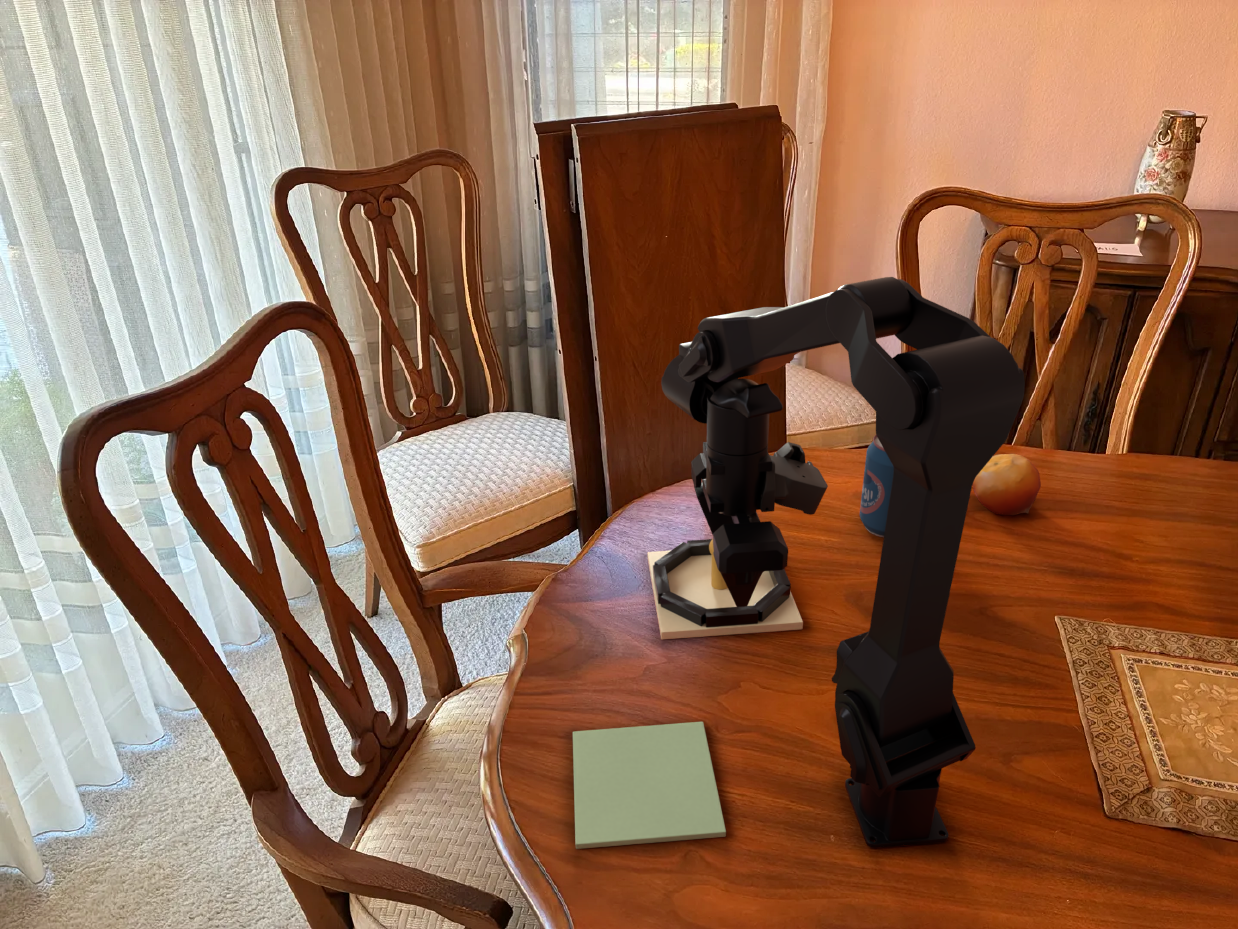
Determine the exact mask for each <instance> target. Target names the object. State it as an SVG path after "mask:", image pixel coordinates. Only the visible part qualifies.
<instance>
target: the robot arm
mask: <svg viewBox="0 0 1238 929" xmlns="http://www.w3.org/2000/svg"><path fill="white" fill-rule="evenodd" d="M697 330H698V332H697V333H696V334H695V335H694V337H693V339H692V341H688V342H684V343H679V345H678V355H676V356H675V357H674V358H673V359H671V361H670V362H669V363H668V365H667V366H666V367H665V369H664V373H663V375H662V377H661V383H660V384H661V390H662V392H663V394H664V396H665V397H666V398H667V400H669V401H670V402H672V403H673V404H674V405H675V406H677V408H679V409H680V410H682V411H683V412H684V413H685V414H687V415H688V416H689V417H690V418H692V419H693V420H694V421H696V422H698V423H701V424H704V425H706V441H703V442H702V452H700V453H698V454H697V455H696V456H695V457H694V458H693V459H692V460H691V462H690V463H691V465H690V466H691V480H692V484H693V489H694V493H695V496H696V499H697V502H698V503H699V506H700V508H701V510H702V511H701V512H702V513H703V515H704V518H705V520H706V522H707V525H708V527H709V530H710V532H711V534H712V539H713V548H714V552H713V554H714V558H715V561H716V565H717V568H718V570H719V572H720V573H721V575H722V577H723V579H724V581H725V583H726V585H727V587H728V589H729V592H730V594H731V596H732V598H733V600H734V602H735V604H736V606H737V607H746V606H748V604H749V601H750V599H751V597H752V594H753V592H754V590H755V587H756V585H757V583H758V581H759V579H760V577H761V575H762V573H763V572H764V571H776V570H783V569H786V568H787V567H788V561H789V560H788V559H789V548H788V545H787V542H786V540H785V538H784V536H783V533H782V531H781V529H780V528H779V526H777V525H775V524H774V523H773V522H772V521H771V520H768V521H767V520H765V521H761V520H760V517H759V514H758V512H757V511H760V512H761V513H767V512H768V513H771V512H775V504H777V505H779V506H780V507H781V506H782V507H785V508H789V509H792V510H793V509H794V510H796V511H797V510H798V511H802V512H803V514H806V515H810V516H811V515H812V516H813V515H815V513H816V512H817V509H818V508H819V506H820V504H821V502H822V499H823V498H824V496H825V493H826V492H827V489H828V487H829V485H828V483H827V481H826V480H825V478H824V476H823V475H822V472H821V471H820V469H819V468H818V467H816V466H815V465H814V464H813V462H812V461H810V460H807V462H806V453H805V451H804V448H802V446H801V445H800V444H797V443H794V442H790V441H788V442H786V443H785V444H784V445H783V446H781V447H780V448H779V449H778V450H777V451H776V452H774V453H773V455H771V454H770V453H769V452H768V450H769V428H770V415H771V414H773V413H774V414H775V413H779V412H781V411H782V410H783V408H784V406H783V403H782V402H781V400H780V398H779V397H778V396H777V395H776V394H775V393H774V392H773V391H772V389H771V387H770V385H769V384H768V383H767V382H764V383H760V384H759V383H758V382H756V381H754V380H752V379H748V378H745V377H749V376H754V375H758V374H763V373H769V372H773V371H776V370H778V369H780V368H782V367H783V366H786V365H787V364H789V363H790V362H792V361H793V360H794V358H795V356H797V355H798V354H800V353H802V352H806V351H810V350H816V349H820V348H824V347H829V346H833V345H837V344H840V345H841V346H842V347H843V348H844V349H845V350H846V352H847V354H848V364H849V372H850V380H851V381H850V382H851V384H852V386H853V387H854V388H855V390H856V391H857V392H858V394H859V395H861V397H862V398H863V399H864V400H865V401H866V402H867V403H868V404H869V406H870V407H871V408H872V409H873V410H874V411H875V435H877V437H878V439H879V441H880V443H881V445H882V446H883V448H884V450H885V452H886V454H887V455H888V457H889V459H890V461H891V463H892V465H893V467H894V473H893V481H892V488H891V494H890V501H889V507H888V514H887V520H886V527H885V533H884V537H883V540H882V547H881V553H880V560H879V565H878V566H879V567H878V573H877V579H876V586H875V592H874V599H873V605H872V612H871V618H870V625H869V628H868V631H865V632H863V633H860V634H857V635H854V636H851V637H848V638H845V639H843V640H840V642H839V644H838V647H837V649H836V666H835V672H834V674H833V675H832V677H831V682H832V683H833V684H836V686H835V691H834V711H835V717H836V725H837V726H836V727H837V731H838V739H839V746H840V753H841V755H842V757H843V758H844V759H845V761H846V762H847V763H848V764H849V768H850V775H849V776H850V777H849V778H847V779H845V780H844V788H845V790H846V793H847V796H848V798H849V801H850V803H851V808H852V809H853V812H854V815H855V817H856V819H857V820H856V821H857V823H858V825H859V828H860V831H861V833H862V836H863V838H864V842H865V844H866V845H867V846H868V847H869V848H872V849H879V848H890V847H902V846H903V847H904V846H915V845H926V844H927V845H928V844H938V843H939V844H940V843H945V842H947V841H948V839H949V834H950V833H949V832H948V830H947V827H946V825H945V824H944V821H943V819H942V817H941V815H940V813H939V810H938V808H937V801H938V795H939V791H940V780H941V776H942V775H941V774H942V771H943V769H944V768H946V767H949V766H951V765H954V764H955V763H958V762H963V761H965V760H967V759H968V758H970V756H971V755H972V754H973V753H974V752H975V750H976V748H977V747H976V744H975V741H974V738H973V737H972V734H971V732H970V729H969V727H968V725H967V722H966V720H965V718H964V715H963V713H962V710H961V708H960V706H959V704H958V701H957V699H956V696H955V693H954V675H955V672H954V671H955V670H954V669H953V667H952V665H951V664H950V662H949V660H948V659H947V657H946V656H945V654H944V653H943V651H942V648H941V647H940V644H941V643H940V641H941V637H942V632H943V628H944V622H945V617H946V613H947V609H948V604H949V598H950V593H951V589H952V585H953V579H954V576H955V571H956V566H957V560H958V556H959V552H960V551H959V550H960V546H961V542H962V536H963V531H964V528H965V527H964V526H965V522H966V516H967V512H968V508H969V503H970V499H971V498H970V497H971V493H972V489H973V486H972V485H973V482H974V479H975V478H976V476H977V475H978V474H979V472H980V471H981V470H982V469H983V468H984V466H985V465H986V464H987V463H988V462H989V460H990V459H991V458H992V457H993V456H995V455H996V453H997V452H998V451H999V450H1000V448H1001V447H1002V446H1003V445H1004V444H1005V442H1006V441H1007V439H1008V437H1009V434H1010V432H1011V429H1012V427H1013V425H1014V423H1015V420H1016V418H1017V415H1018V414H1019V411H1020V408H1021V406H1022V403H1023V400H1024V397H1025V385H1026V381H1025V374H1024V370H1023V369H1022V368H1020V367H1019V365H1018V363H1017V361H1016V360H1015V358H1014V355H1013V354H1012V353H1011V352H1010V351H1009V349H1008V348H1007V347H1006V345H1005V344H1003V343H1002V342H1000V341H999V340H997V339H995V337H991V335H989V334H988V333H987V332H986V331H985V330H984V329H983V328H982V327H981V326H980V325H978V324H977V323H976V322H975V321H974V320H973V319H971V318H969V317H967V316H965V315H963V314H960V313H959V312H956V311H954V310H952V309H951V308H947V307H945V306H943V305H941V304H938V303H936V302H935V301H932V300H931V299H927V298H925V297H924V296H922V295H921V293H920V292H918V291H917V290H916V288H914V287H913V286H912V285H911V284H910V283H909V282H907V281H906V280H904V279H902V278H896V277H894V276H885V277H879V278H874V279H868V280H862V281H857V282H851V283H846V284H843V285H841V286H840V287H839V288H838V289H836V290H834V291H832V292H829V293H826V294H823V295H820V296H816V297H814V298H810V299H806V300H804V301H801V302H798V303H795V304H793V305H792V304H791V305H788V306H785V307H780V306H763V307H758V308H753V309H747V310H742V311H735V312H731V313H726V314H720V315H714V316H709V317H705V318H703V319H702V320H701V321H700V322H699V324H698V325H697ZM891 336H894V337H896V338H897V340H899V341H900V342H902V343H903V344H905V345H906V346H909V347H911V348H913V349H914V350H909V351H905V352H900V353H897V354H895V355H894V356H893V357H892V356H891V355H890V354H889V352H887V351H886V350H885V349H884V347H882V346H881V345H880V344H879V342H878V341H877V340H878V339H882V338H887V337H891Z"/></svg>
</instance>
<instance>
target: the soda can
mask: <svg viewBox="0 0 1238 929" xmlns="http://www.w3.org/2000/svg"><path fill="white" fill-rule="evenodd" d="M893 473H894V467H893V465H892V463H891V461H890V459H889V457H888V455H887V454H886V452H885V450H884V448H883V446H882V445H881V443H880V441H879V439H878V437H877V435H876V434H874V436H873V438H872V441H871V443H870V444H869V445H868V447H867V449H866V454H865V462H864V471H863V480H862V490H861V496H860V505H859V506H860V507H859V518H860V520H861V523H862V524H863V526H864V529H866V530H867V531H868V532H869V533H870V534H872V535H874V536H876V537H880V538H884V533H885V527H886V520H887V514H888V507H889V501H890V494H891V488H892V481H893Z"/></svg>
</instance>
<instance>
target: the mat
mask: <svg viewBox="0 0 1238 929" xmlns="http://www.w3.org/2000/svg"><path fill="white" fill-rule="evenodd" d="M572 762H573V763H572V764H573V766H572V767H573V798H574V799H573V800H574V801H573V802H574V803H573V804H574V805H573V806H574V837H575V838H574V840H575V849H576V850H580V849H581V850H582V849H592V848H606V847H617V846H630V845H642V844H653V843H654V844H655V843H664V842H678V841H688V840H689V841H691V840H702V839H711V838H712V839H714V838H724V837H725V838H726V837H727V830H726V825H725V820H724V815H723V811H722V806H721V800H720V796H719V791H718V787H717V781H716V777H715V770H714V767H713V762H712V758H711V752H710V748H709V744H708V739H707V733H706V727H705V723H704V721H693V722H692V721H691V722H679V723H667V724H653V725H639V726H628V727H627V726H626V727H613V728H601V729H588V730H587V729H586V730H577V731H572Z"/></svg>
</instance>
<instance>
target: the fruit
mask: <svg viewBox="0 0 1238 929" xmlns="http://www.w3.org/2000/svg"><path fill="white" fill-rule="evenodd" d="M1041 484H1042V482H1041V474H1040V471H1039V469H1038V468H1037V467H1036V465H1035V464H1034V463H1033V462H1032V460H1030V459H1029V458H1027V457H1026V456H1024V455H1021V454H1016V453H1009V454H1006V453H1003V454H994V456H993V457H992V458H991V459H990V460H989V462H988V463H987V464H986V465H985V466H984V468H983V469H982V470H981V471H980V472H979V474H978V475H977V476H976V478H975V479H974V482H973V485H972V489H973V493H974V494H975V496H976V498H977V500H978V502H979V503H980V504H981V505H982V506H983V507H984V508H986V509H987V510H988V511H989V512H991V513H994V514H996V515H999V516H1015V515H1019V514H1024V513H1025V514H1029V511H1030V509H1032V506H1033V504H1034V503H1035V501H1036V498H1037V497H1038V494H1039V492H1040V490H1041V487H1042V485H1041Z"/></svg>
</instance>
